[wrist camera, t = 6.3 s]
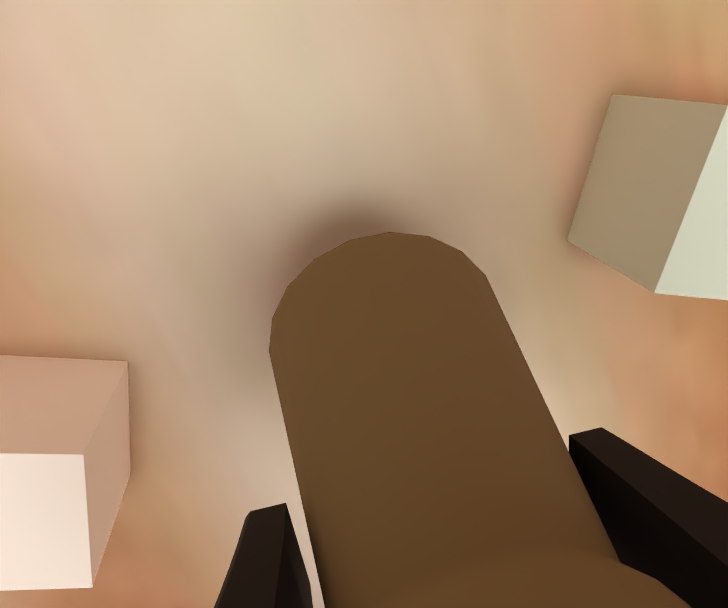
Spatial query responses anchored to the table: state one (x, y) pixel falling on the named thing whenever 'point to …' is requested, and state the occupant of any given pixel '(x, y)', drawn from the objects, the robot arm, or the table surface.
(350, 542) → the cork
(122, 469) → the off-white block
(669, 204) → the sage-green block
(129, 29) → the table surface
